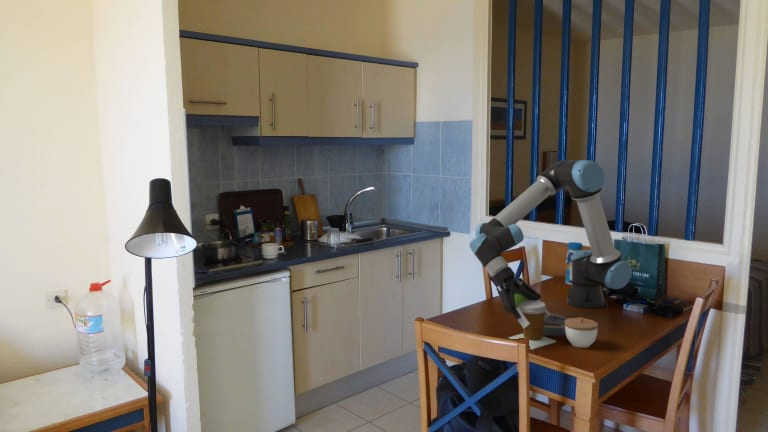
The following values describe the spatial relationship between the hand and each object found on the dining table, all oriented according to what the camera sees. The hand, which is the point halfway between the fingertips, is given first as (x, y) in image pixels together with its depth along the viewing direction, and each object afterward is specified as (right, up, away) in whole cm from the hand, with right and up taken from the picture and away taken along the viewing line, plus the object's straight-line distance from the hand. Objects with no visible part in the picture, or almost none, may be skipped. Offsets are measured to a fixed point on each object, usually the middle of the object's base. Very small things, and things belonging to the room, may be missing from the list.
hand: (537, 321), depth 190 cm
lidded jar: (+14, -8, -1) cm, 16 cm away
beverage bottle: (+41, +3, +83) cm, 92 cm away
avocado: (+4, -3, +39) cm, 39 cm away
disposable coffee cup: (0, -6, +4) cm, 8 cm away
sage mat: (-2, -7, +3) cm, 8 cm away
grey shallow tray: (+9, -5, +16) cm, 19 cm away
